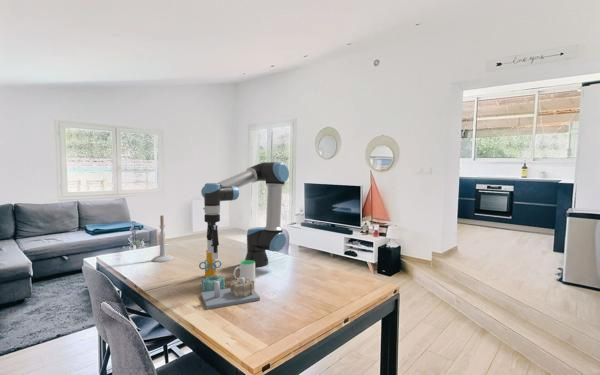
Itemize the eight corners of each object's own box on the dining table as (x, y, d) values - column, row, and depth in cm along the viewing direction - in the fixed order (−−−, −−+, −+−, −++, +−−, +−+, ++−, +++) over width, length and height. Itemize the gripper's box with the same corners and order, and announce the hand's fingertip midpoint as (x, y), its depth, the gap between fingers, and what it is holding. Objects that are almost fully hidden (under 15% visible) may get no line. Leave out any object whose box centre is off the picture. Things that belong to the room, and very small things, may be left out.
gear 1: (221, 283, 176) (221, 274, 175) (226, 290, 166) (226, 280, 165) (200, 286, 171) (200, 277, 171) (203, 293, 161) (203, 283, 161)
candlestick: (177, 258, 223) (176, 214, 222) (160, 263, 213) (159, 216, 211) (165, 256, 230) (164, 213, 228) (148, 260, 219) (147, 215, 218)
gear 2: (244, 286, 167) (244, 277, 166) (258, 292, 159) (258, 282, 159) (226, 292, 159) (226, 282, 158) (240, 299, 151) (240, 288, 151)
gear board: (249, 288, 169) (249, 271, 169) (259, 300, 154) (259, 282, 153) (201, 295, 159) (200, 278, 159) (206, 309, 144) (206, 290, 143)
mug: (237, 286, 171) (237, 266, 171) (230, 282, 178) (230, 263, 177) (258, 281, 179) (257, 262, 178) (250, 277, 185) (250, 259, 184)
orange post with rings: (214, 280, 180) (213, 253, 180) (196, 279, 182) (196, 252, 182) (223, 273, 192) (223, 248, 191) (207, 272, 194) (206, 247, 194)
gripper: (200, 211, 176) (201, 250, 177) (208, 217, 153) (209, 262, 154) (215, 210, 179) (215, 249, 180) (225, 216, 156) (225, 261, 158)
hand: (212, 255), depth 167 cm, fingers open, 13 cm apart
